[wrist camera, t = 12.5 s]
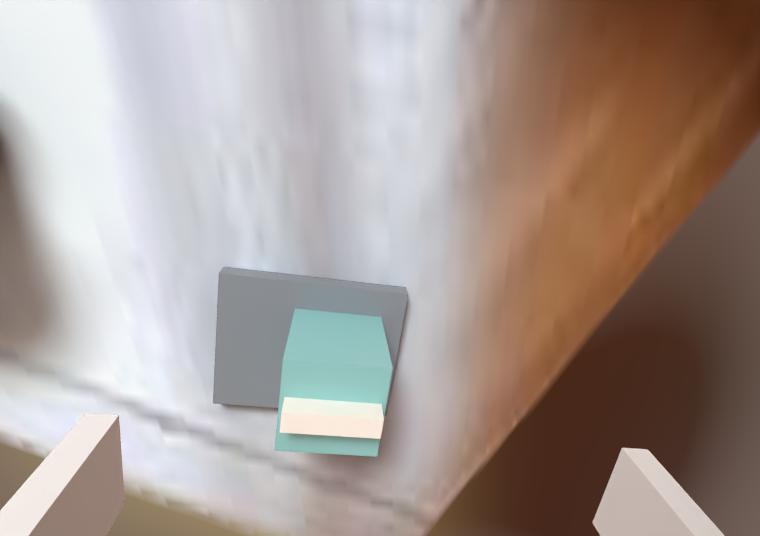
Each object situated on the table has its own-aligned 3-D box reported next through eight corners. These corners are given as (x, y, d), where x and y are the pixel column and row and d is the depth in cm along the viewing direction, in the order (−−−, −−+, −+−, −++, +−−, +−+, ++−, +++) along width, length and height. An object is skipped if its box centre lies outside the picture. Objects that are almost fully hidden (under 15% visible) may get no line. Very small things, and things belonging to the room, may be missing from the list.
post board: (224, 266, 33) (197, 299, 27) (405, 287, 35) (419, 322, 29) (218, 392, 36) (193, 447, 30) (384, 405, 38) (393, 459, 32)
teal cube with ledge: (287, 384, 35) (271, 468, 26) (294, 308, 33) (279, 372, 24) (369, 390, 36) (379, 473, 27) (381, 317, 34) (395, 381, 25)
